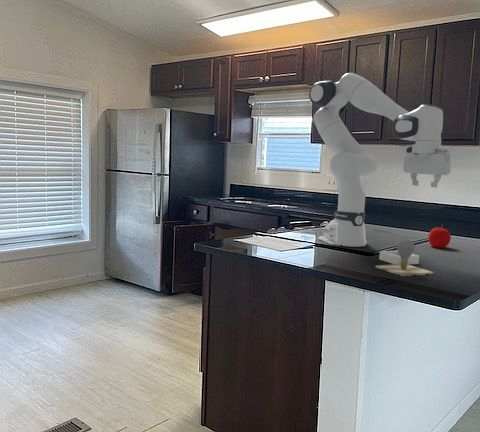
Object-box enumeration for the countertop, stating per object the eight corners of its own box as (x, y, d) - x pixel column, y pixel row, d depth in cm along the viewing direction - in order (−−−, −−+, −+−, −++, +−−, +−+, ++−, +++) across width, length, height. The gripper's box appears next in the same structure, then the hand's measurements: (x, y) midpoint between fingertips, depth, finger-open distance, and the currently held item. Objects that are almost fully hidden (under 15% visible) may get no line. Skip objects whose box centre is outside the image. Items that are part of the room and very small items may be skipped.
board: (375, 267, 163) (375, 265, 163) (405, 265, 168) (405, 263, 168) (402, 276, 151) (402, 274, 151) (433, 274, 156) (433, 272, 156)
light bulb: (415, 270, 157) (418, 240, 156) (398, 270, 157) (402, 240, 155) (408, 266, 162) (411, 237, 161) (392, 266, 162) (395, 237, 161)
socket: (379, 259, 176) (379, 251, 176) (399, 258, 180) (400, 250, 180) (397, 265, 167) (398, 256, 167) (418, 263, 171) (419, 255, 171)
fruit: (451, 250, 203) (454, 226, 201) (429, 248, 204) (431, 225, 203) (447, 246, 212) (449, 223, 210) (425, 244, 213) (427, 222, 212)
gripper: (456, 149, 169) (452, 188, 171) (414, 149, 188) (411, 184, 190) (443, 148, 167) (439, 188, 168) (401, 148, 185) (398, 184, 187)
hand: (424, 186), depth 179 cm, fingers open, 8 cm apart
